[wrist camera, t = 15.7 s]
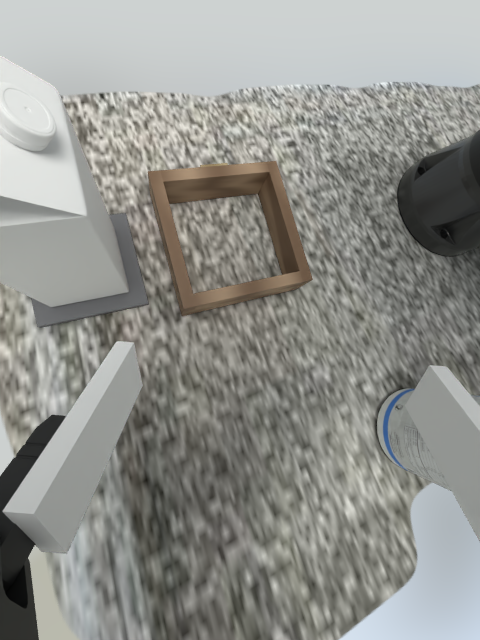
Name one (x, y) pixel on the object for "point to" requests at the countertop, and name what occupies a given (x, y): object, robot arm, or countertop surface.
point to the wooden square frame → (219, 185)
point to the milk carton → (50, 200)
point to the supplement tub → (407, 439)
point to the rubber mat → (104, 304)
